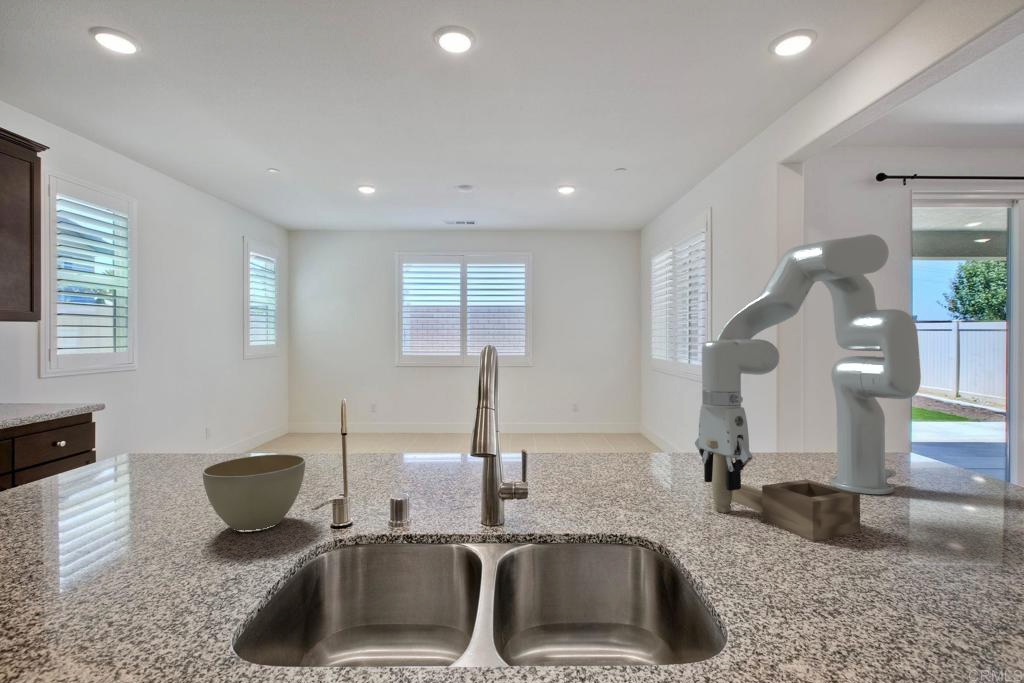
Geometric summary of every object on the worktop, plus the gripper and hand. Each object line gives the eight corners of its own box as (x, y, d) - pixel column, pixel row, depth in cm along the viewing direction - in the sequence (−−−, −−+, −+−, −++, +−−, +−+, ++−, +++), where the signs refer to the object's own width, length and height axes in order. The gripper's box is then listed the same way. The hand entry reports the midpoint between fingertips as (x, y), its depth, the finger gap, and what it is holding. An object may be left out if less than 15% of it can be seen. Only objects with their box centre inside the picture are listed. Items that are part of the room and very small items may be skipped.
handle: (742, 515, 102) (741, 441, 102) (709, 514, 103) (709, 441, 103) (734, 507, 107) (734, 437, 107) (703, 506, 108) (702, 437, 108)
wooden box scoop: (756, 495, 115) (756, 464, 115) (860, 532, 93) (859, 494, 93) (714, 501, 111) (714, 469, 111) (812, 541, 89) (812, 501, 89)
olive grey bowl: (286, 504, 112) (285, 450, 112) (320, 525, 99) (320, 463, 99) (192, 525, 99) (191, 464, 99) (218, 552, 86) (217, 481, 86)
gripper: (768, 402, 98) (769, 495, 98) (706, 394, 114) (707, 473, 114) (738, 404, 96) (739, 499, 96) (679, 396, 112) (680, 477, 112)
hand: (722, 484), depth 105 cm, fingers open, 5 cm apart
